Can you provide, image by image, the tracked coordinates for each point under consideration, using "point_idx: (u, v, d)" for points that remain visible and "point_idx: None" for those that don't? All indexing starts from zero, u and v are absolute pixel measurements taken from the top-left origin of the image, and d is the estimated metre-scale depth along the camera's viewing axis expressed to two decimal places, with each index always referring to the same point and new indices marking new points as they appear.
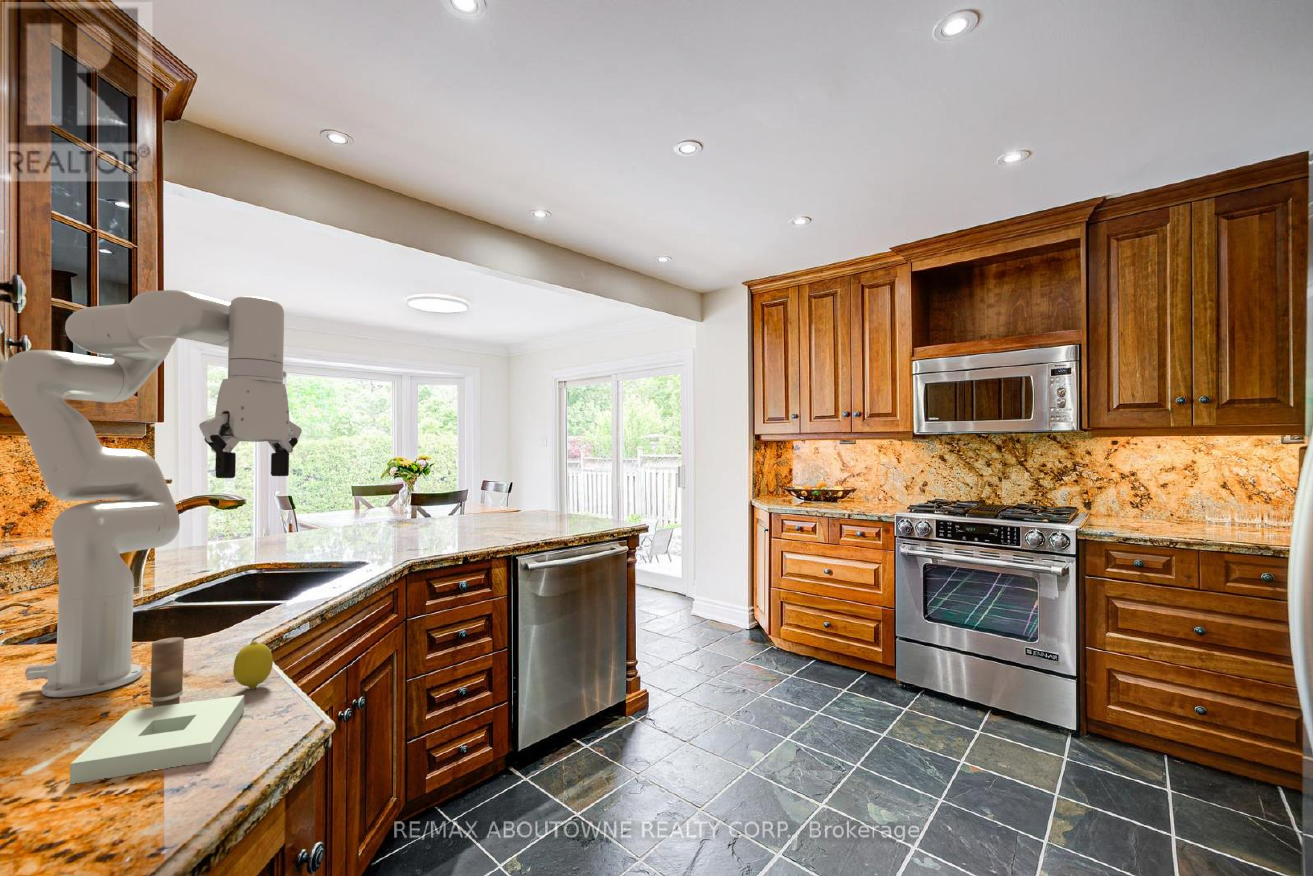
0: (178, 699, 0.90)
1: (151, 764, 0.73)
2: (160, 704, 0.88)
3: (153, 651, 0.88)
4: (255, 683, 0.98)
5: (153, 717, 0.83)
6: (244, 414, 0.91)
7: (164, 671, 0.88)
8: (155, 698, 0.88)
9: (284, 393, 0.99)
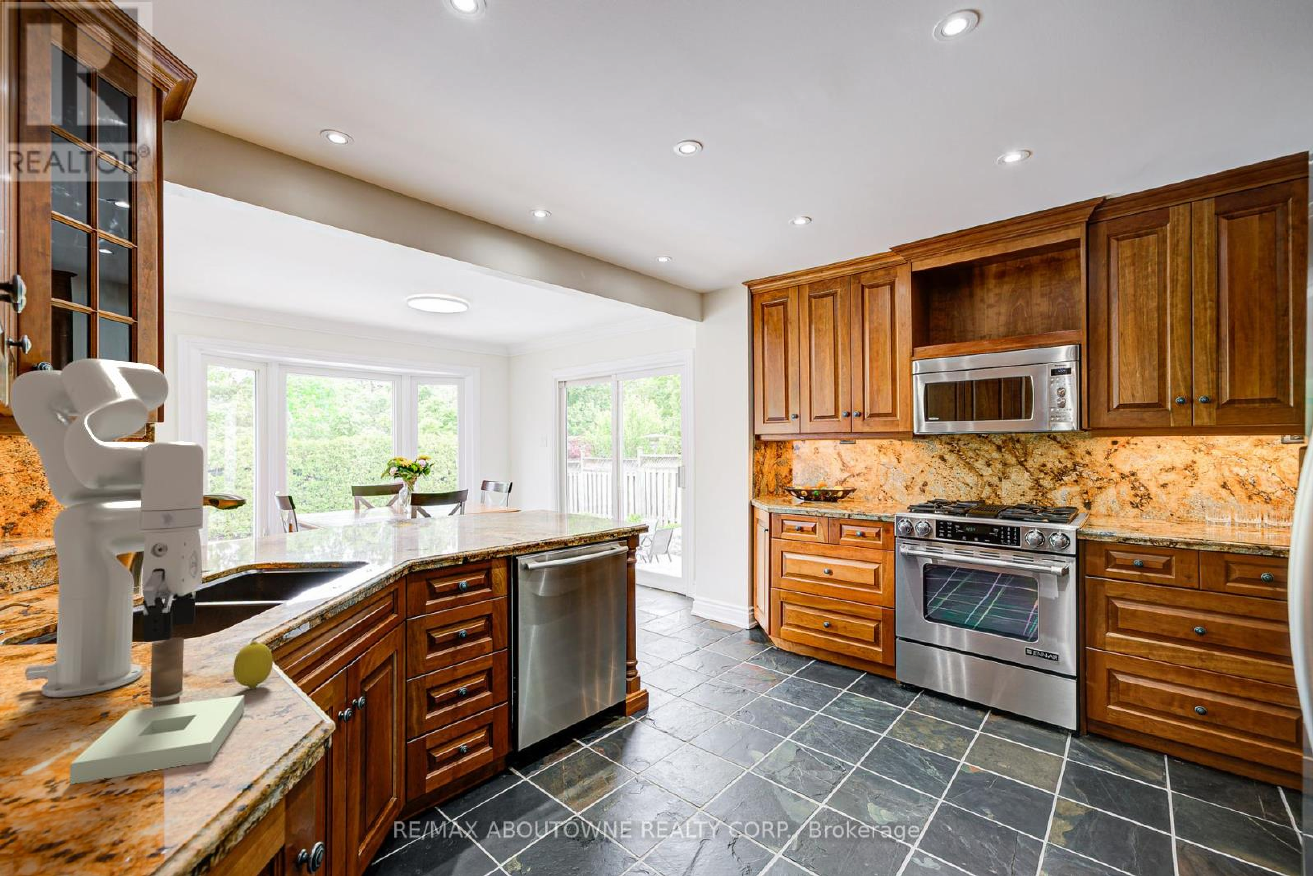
0: (178, 699, 0.90)
1: (151, 764, 0.73)
2: (160, 704, 0.88)
3: (153, 651, 0.88)
4: (255, 683, 0.98)
5: (153, 717, 0.83)
6: None
7: (164, 671, 0.88)
8: (155, 698, 0.88)
9: (145, 544, 0.86)
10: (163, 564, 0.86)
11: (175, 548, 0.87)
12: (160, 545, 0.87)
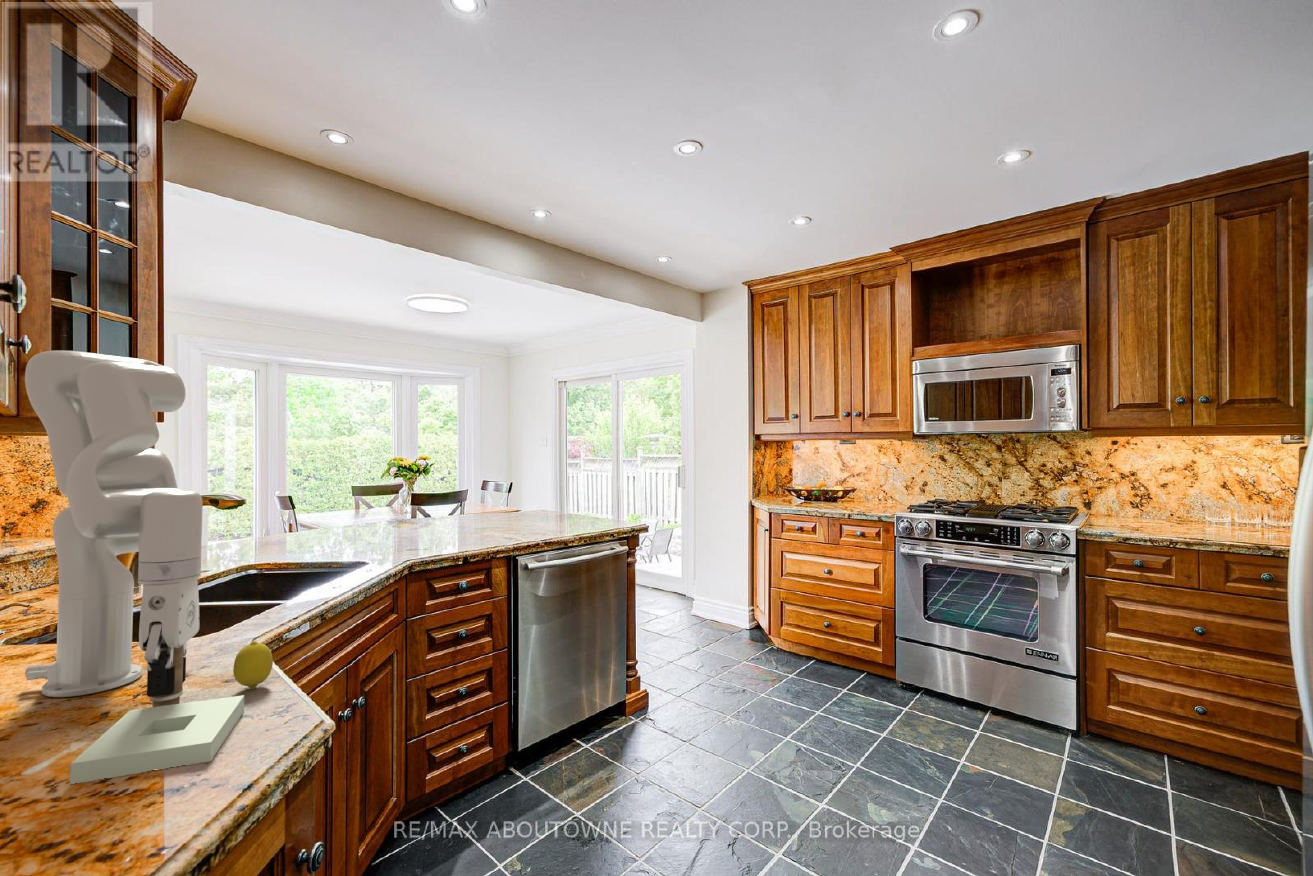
0: (178, 699, 0.90)
1: (151, 764, 0.73)
2: (160, 704, 0.88)
3: None
4: (255, 683, 0.98)
5: (153, 717, 0.83)
6: None
7: None
8: (155, 698, 0.88)
9: None
10: (160, 617, 0.86)
11: (172, 600, 0.87)
12: (157, 597, 0.87)
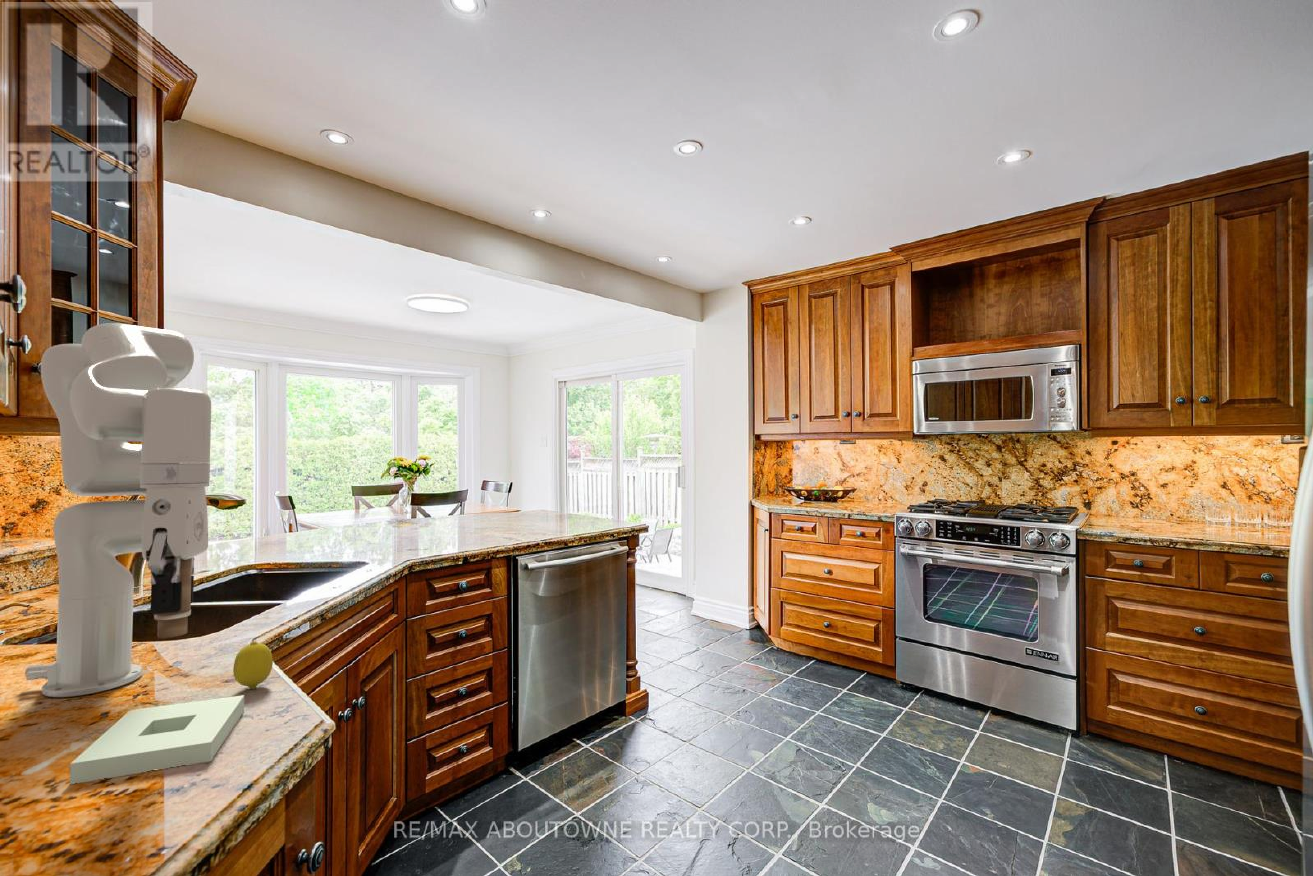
0: (186, 620, 0.81)
1: (151, 764, 0.73)
2: (166, 623, 0.79)
3: None
4: (255, 683, 0.98)
5: (153, 717, 0.83)
6: None
7: None
8: (160, 616, 0.79)
9: (145, 500, 0.77)
10: (165, 523, 0.77)
11: (179, 506, 0.78)
12: (162, 502, 0.78)
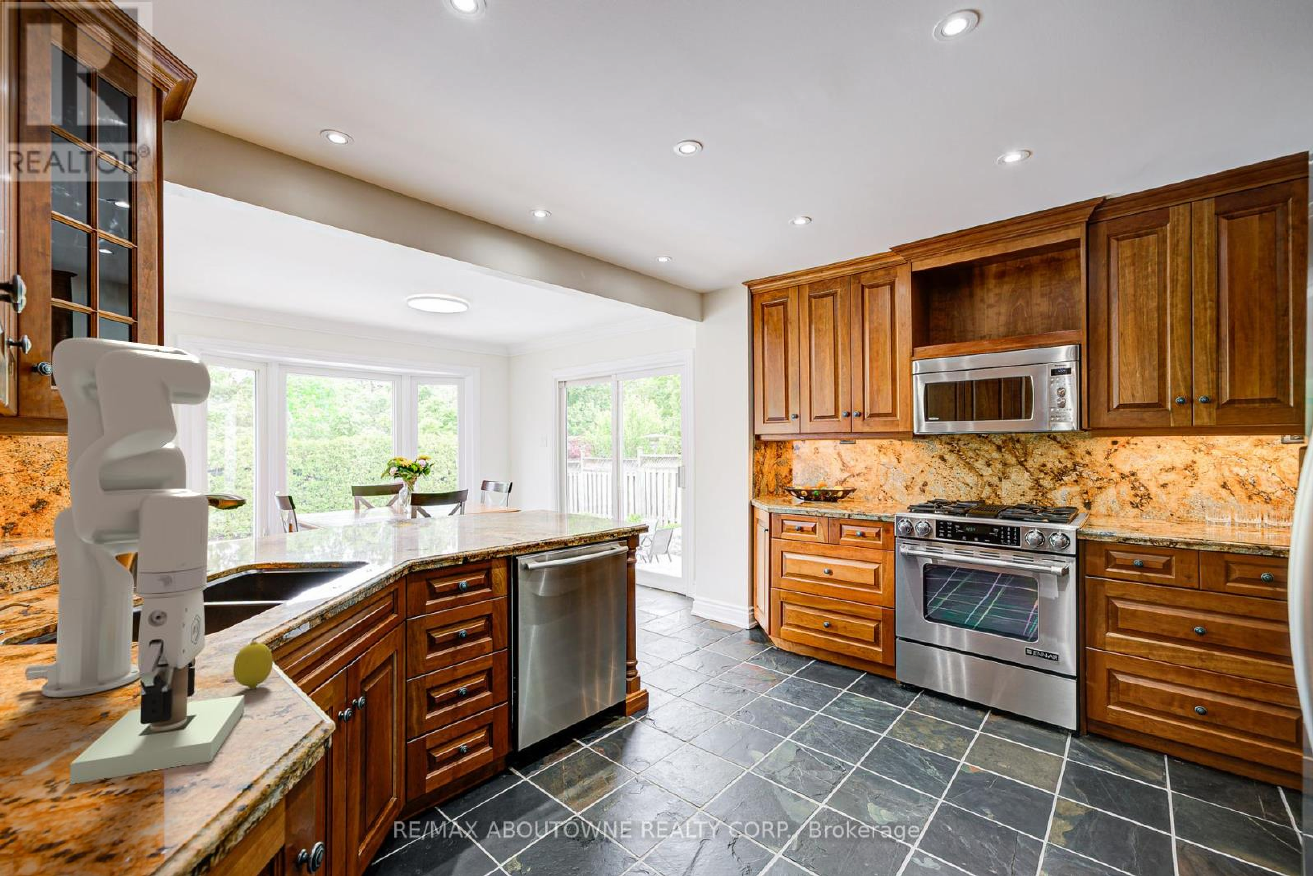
0: (182, 727, 0.81)
1: (151, 764, 0.73)
2: None
3: None
4: (255, 683, 0.98)
5: None
6: None
7: None
8: (156, 727, 0.78)
9: None
10: (161, 634, 0.76)
11: (175, 616, 0.77)
12: (158, 612, 0.77)
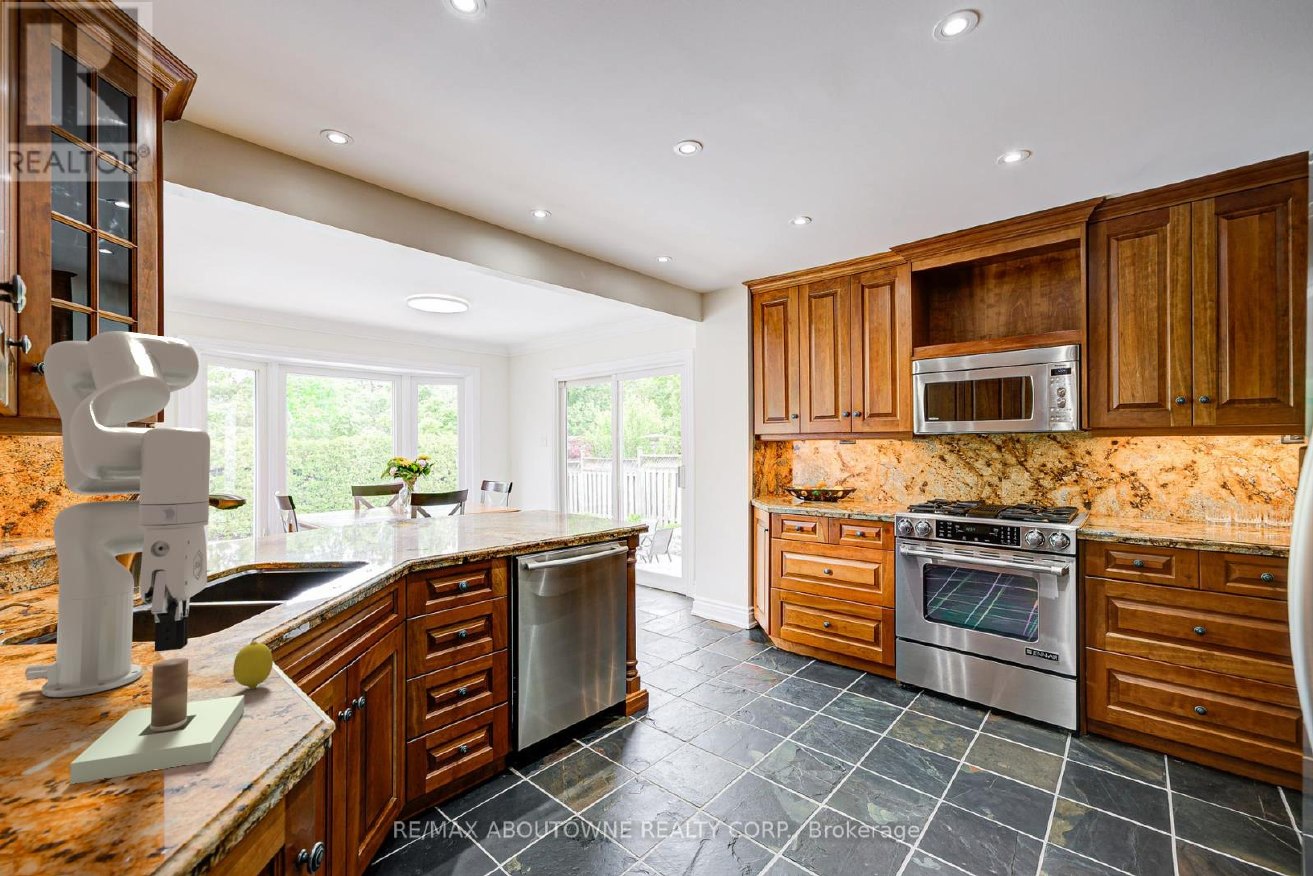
0: (182, 728, 0.81)
1: (151, 764, 0.73)
2: None
3: (154, 674, 0.79)
4: (255, 683, 0.98)
5: None
6: None
7: (166, 697, 0.79)
8: (156, 727, 0.78)
9: (144, 541, 0.77)
10: (164, 565, 0.76)
11: (178, 547, 0.77)
12: (161, 543, 0.77)
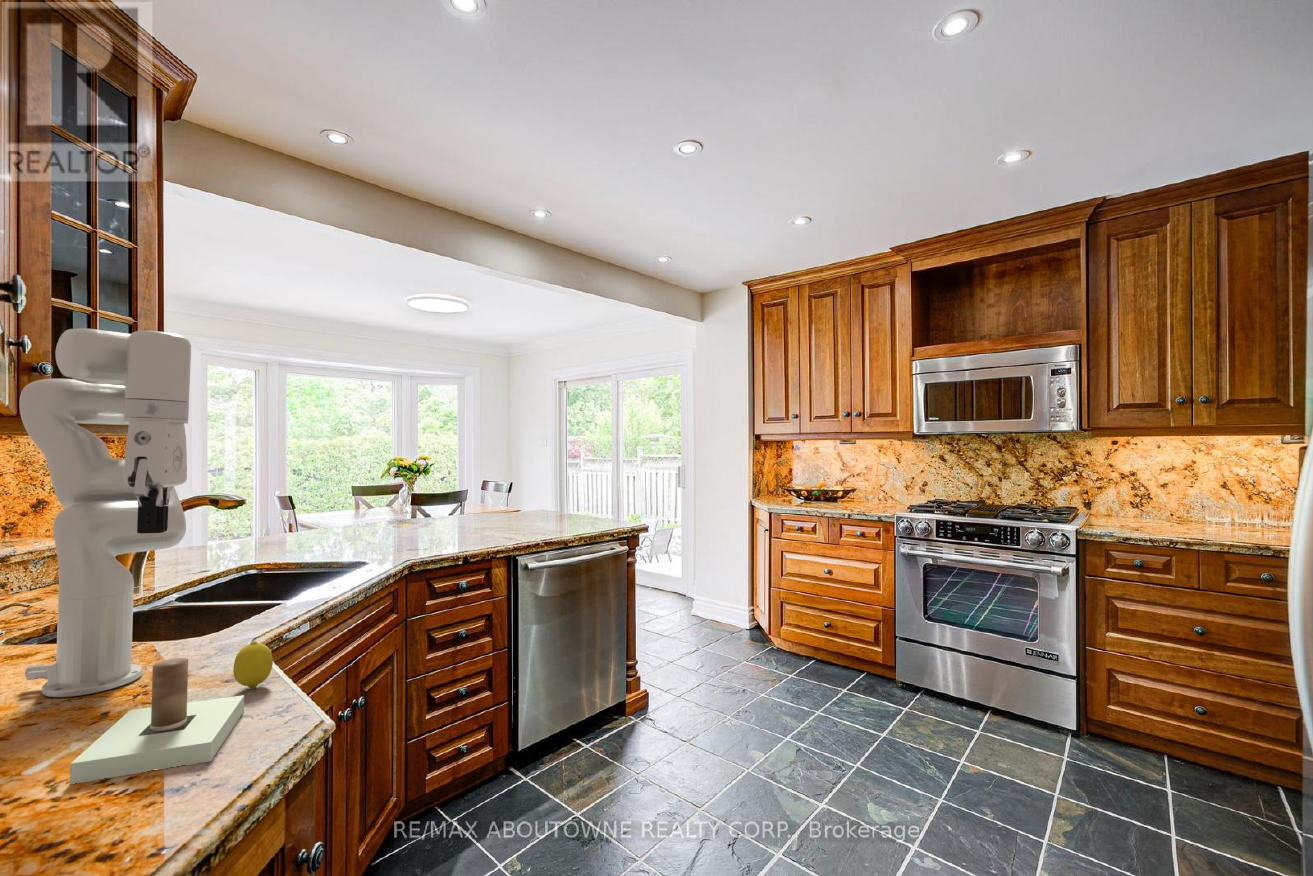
0: (182, 728, 0.81)
1: (151, 764, 0.73)
2: None
3: (154, 675, 0.79)
4: (255, 683, 0.98)
5: None
6: None
7: (166, 697, 0.79)
8: (156, 727, 0.78)
9: (128, 431, 0.85)
10: (146, 452, 0.85)
11: (158, 438, 0.85)
12: (143, 434, 0.85)
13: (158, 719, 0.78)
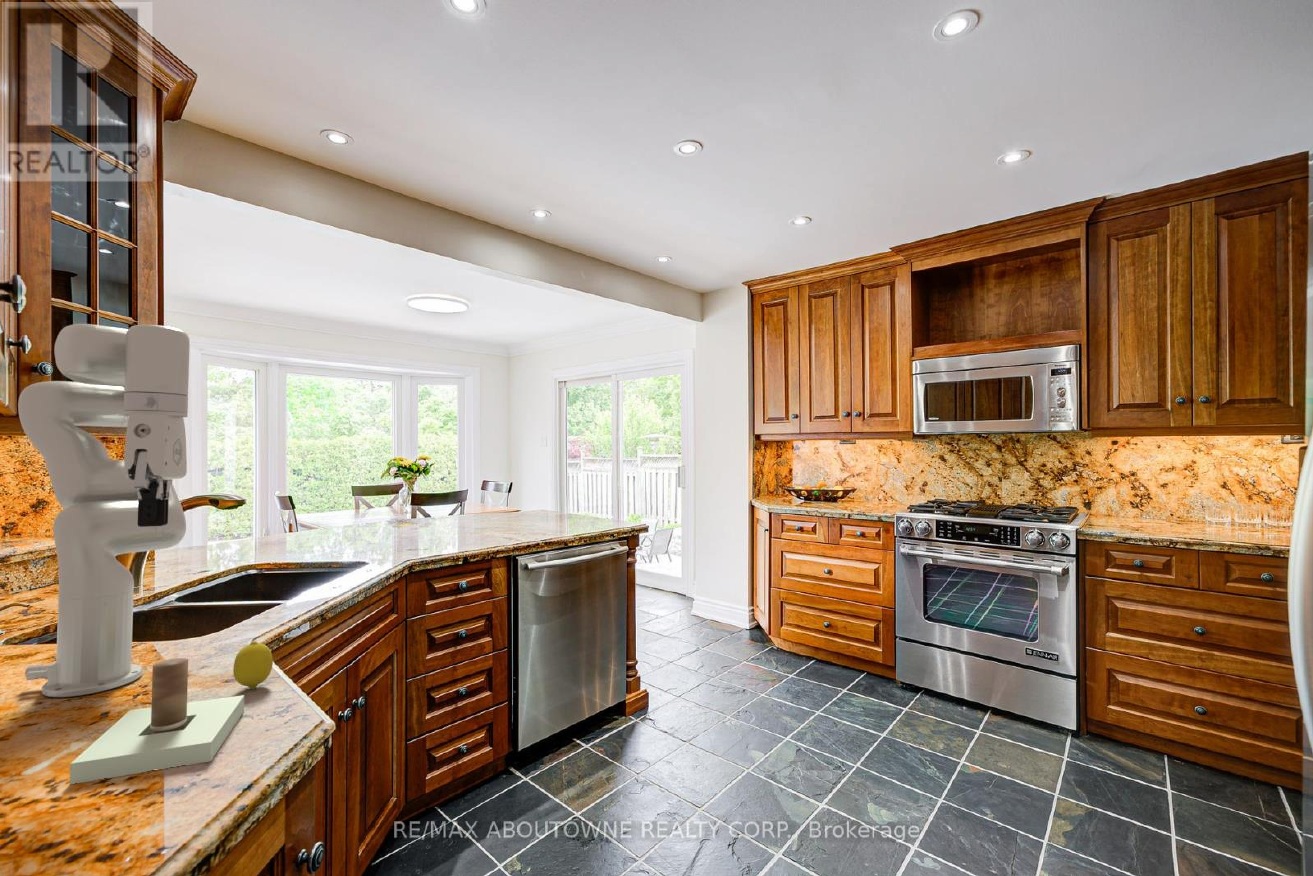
0: (182, 728, 0.81)
1: (151, 764, 0.73)
2: None
3: (154, 675, 0.79)
4: (255, 683, 0.98)
5: None
6: None
7: (166, 697, 0.79)
8: (156, 727, 0.78)
9: (127, 424, 0.85)
10: (146, 445, 0.85)
11: (158, 430, 0.86)
12: (143, 426, 0.86)
13: (158, 719, 0.78)
